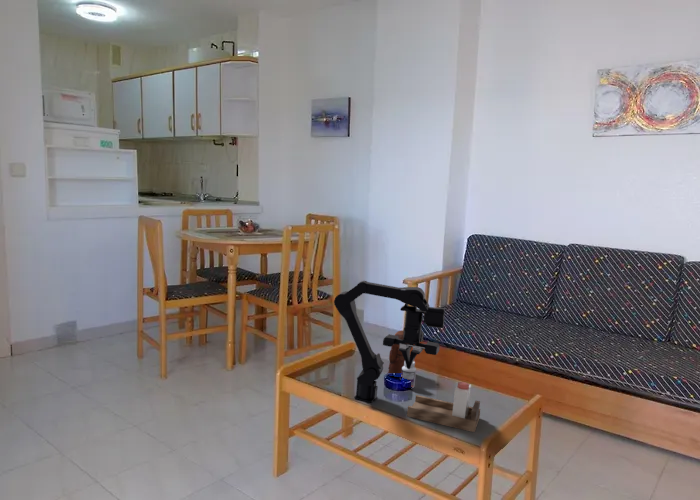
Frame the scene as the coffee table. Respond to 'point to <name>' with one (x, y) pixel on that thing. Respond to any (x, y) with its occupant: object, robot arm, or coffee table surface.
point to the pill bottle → (409, 373)
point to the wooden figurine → (396, 356)
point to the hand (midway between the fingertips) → (408, 368)
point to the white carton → (461, 400)
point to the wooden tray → (443, 413)
